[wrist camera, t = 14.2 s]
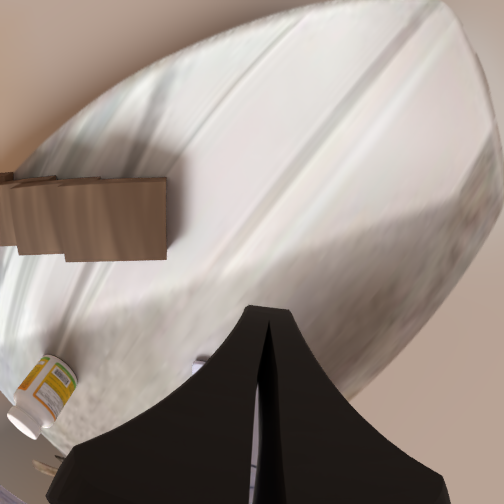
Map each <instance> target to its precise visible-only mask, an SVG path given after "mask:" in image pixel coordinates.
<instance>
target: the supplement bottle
mask: <svg viewBox="0 0 504 504" xmlns="http://www.w3.org/2000/svg"><path fill="white" fill-rule="evenodd" d="M76 386H77V379H76V376H75V374H74V373H73V371H72V370H71V369H70V368H69V367H68V366H67V365H66V364H65V363H64V362H63V361H62V360H60V359H59V358H57V357H55V356H52V355H45V356H43V357H42V358H41V360H40V361H39V362H38V363H37V365H36V366H35V367H34V368H33V370H32V371H31V372H30V373H29V375H28V376H27V377H26V378H25V380H24V381H23V382H22V384H21V385H20V386H19V387H18V389H17V390H16V392H15V393H14V401H15V403H16V406H12V407H11V409H10V410H9V412H8V414H7V416H8V418H9V420H10V421H11V422H12V423H13V424H14V425H15V426H16V427H17V428H18V429H19V430H20V431H21V432H23V433H24V434H25V435H27V436H29V437H30V438H32V439H37V437H38V436H39V434H40V433H41V427H44V428H49V427H51V426H52V425H53V423H54V422H55V420H56V419H57V417H58V415H59V414H60V412H61V410H62V409H63V407H64V405H65V404H66V402H67V401H68V399H69V398H70V396H71V394H72V393H73V391H74V390H75V388H76Z"/></svg>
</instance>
